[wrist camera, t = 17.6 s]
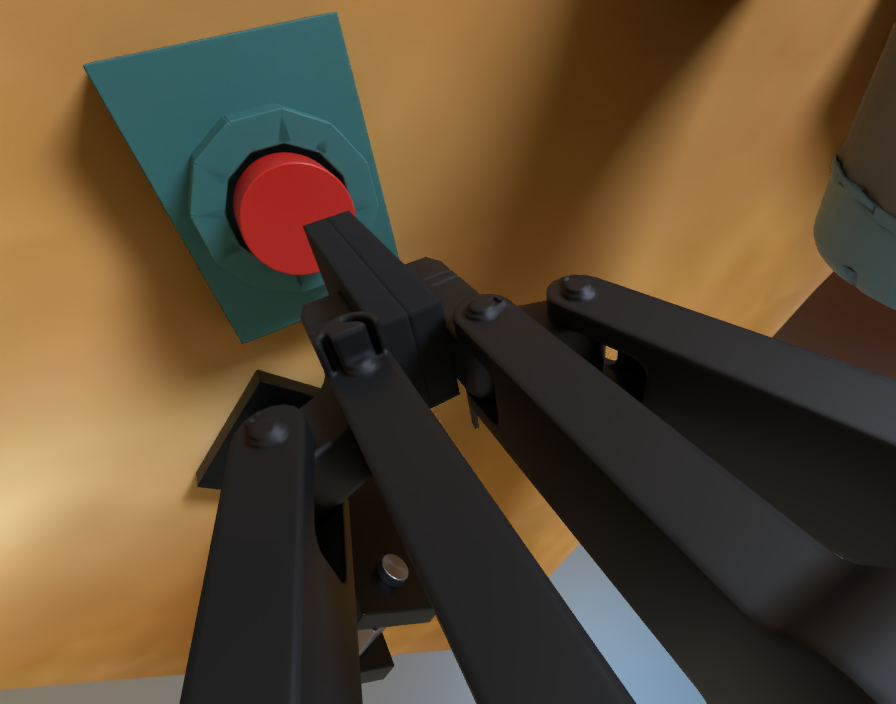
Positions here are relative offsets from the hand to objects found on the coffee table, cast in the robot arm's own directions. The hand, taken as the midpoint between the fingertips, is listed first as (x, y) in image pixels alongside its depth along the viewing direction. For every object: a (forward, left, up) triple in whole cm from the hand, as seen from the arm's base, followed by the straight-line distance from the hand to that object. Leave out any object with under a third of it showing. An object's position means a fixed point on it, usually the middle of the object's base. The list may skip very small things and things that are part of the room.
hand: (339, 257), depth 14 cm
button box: (0, 0, -10) cm, 10 cm away
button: (0, 0, -6) cm, 6 cm away
